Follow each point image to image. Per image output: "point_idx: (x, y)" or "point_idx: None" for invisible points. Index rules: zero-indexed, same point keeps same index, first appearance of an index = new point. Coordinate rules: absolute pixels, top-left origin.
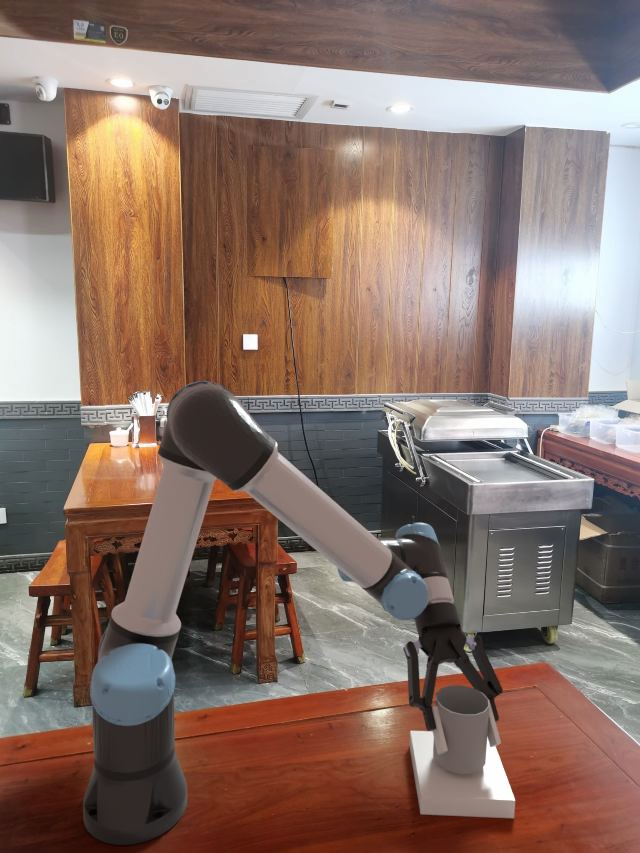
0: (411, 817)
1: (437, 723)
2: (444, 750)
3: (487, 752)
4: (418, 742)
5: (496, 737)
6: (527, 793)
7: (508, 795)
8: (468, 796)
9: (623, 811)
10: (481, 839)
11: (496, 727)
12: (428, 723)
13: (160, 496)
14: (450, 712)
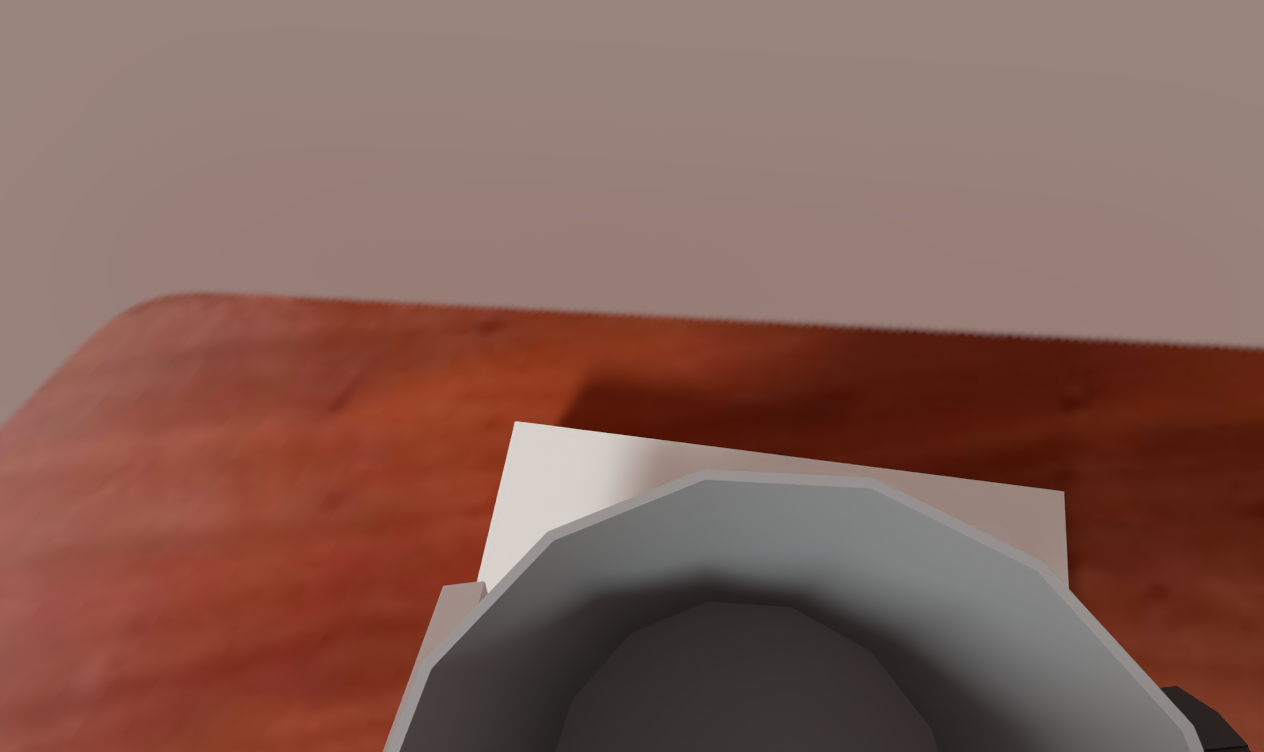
0: (1073, 504)
1: None
2: (987, 525)
3: None
4: None
5: (463, 613)
6: (376, 622)
7: (534, 460)
8: (769, 469)
9: (10, 459)
10: (742, 350)
11: (414, 675)
12: (1233, 736)
13: None
14: (1050, 571)
